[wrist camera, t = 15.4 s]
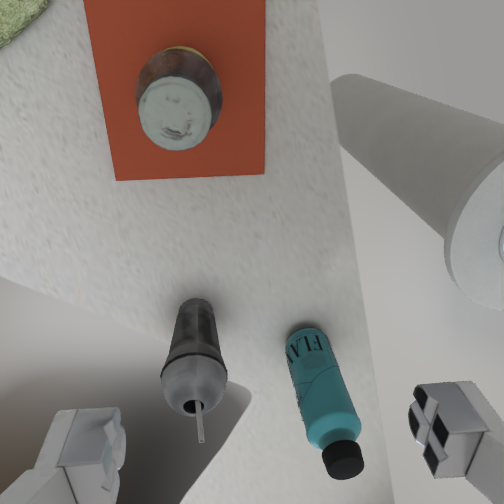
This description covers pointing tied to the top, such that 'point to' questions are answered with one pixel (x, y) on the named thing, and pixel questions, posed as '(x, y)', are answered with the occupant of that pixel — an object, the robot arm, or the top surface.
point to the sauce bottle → (178, 98)
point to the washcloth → (17, 17)
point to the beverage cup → (194, 363)
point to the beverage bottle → (325, 403)
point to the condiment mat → (218, 55)
